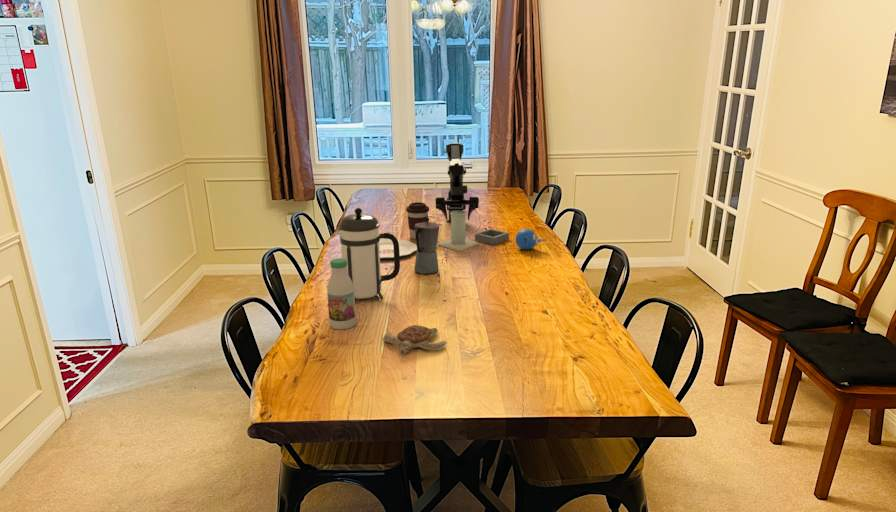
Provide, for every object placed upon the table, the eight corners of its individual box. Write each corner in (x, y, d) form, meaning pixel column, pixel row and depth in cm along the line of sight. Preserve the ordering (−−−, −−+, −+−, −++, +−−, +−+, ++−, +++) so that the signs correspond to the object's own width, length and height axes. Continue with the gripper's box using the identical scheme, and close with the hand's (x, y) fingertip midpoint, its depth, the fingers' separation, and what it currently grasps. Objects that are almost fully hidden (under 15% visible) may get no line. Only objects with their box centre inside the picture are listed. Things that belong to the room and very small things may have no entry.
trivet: (438, 245, 244) (438, 243, 244) (457, 239, 252) (457, 236, 252) (459, 251, 236) (459, 248, 236) (478, 244, 245) (478, 242, 244)
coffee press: (369, 310, 181) (363, 216, 171) (330, 299, 189) (323, 210, 179) (402, 292, 195) (399, 204, 185) (365, 283, 203) (360, 199, 193)
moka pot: (445, 266, 219) (445, 214, 213) (431, 279, 205) (430, 225, 199) (422, 263, 222) (421, 212, 216) (406, 276, 208) (404, 223, 202)
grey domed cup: (450, 240, 247) (450, 210, 243) (465, 240, 247) (465, 210, 243) (450, 246, 239) (450, 215, 235) (466, 246, 239) (466, 215, 235)
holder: (474, 240, 251) (474, 233, 250) (490, 235, 258) (490, 228, 257) (493, 244, 244) (493, 238, 243) (508, 239, 251) (508, 232, 250)
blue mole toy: (544, 254, 231) (544, 234, 229) (514, 252, 233) (514, 232, 231) (545, 245, 242) (546, 226, 240) (516, 244, 245) (517, 224, 242)
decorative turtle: (371, 352, 155) (370, 335, 153) (397, 326, 170) (396, 311, 168) (434, 363, 149) (433, 346, 147) (455, 336, 164) (455, 319, 162)
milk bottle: (331, 319, 174) (326, 256, 168) (357, 318, 175) (353, 255, 168) (328, 331, 167) (323, 265, 160) (355, 329, 167) (351, 264, 161)
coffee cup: (430, 234, 260) (430, 201, 255) (428, 240, 251) (427, 206, 246) (409, 233, 261) (408, 201, 256) (405, 240, 252) (404, 206, 247)
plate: (428, 247, 242) (427, 243, 242) (398, 265, 221) (397, 260, 220) (376, 240, 253) (376, 236, 252) (343, 257, 231) (343, 252, 230)
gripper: (435, 178, 248) (435, 210, 242) (478, 178, 249) (480, 209, 242) (435, 192, 258) (435, 223, 252) (477, 192, 259) (478, 222, 252)
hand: (457, 219), depth 249 cm, fingers open, 9 cm apart
